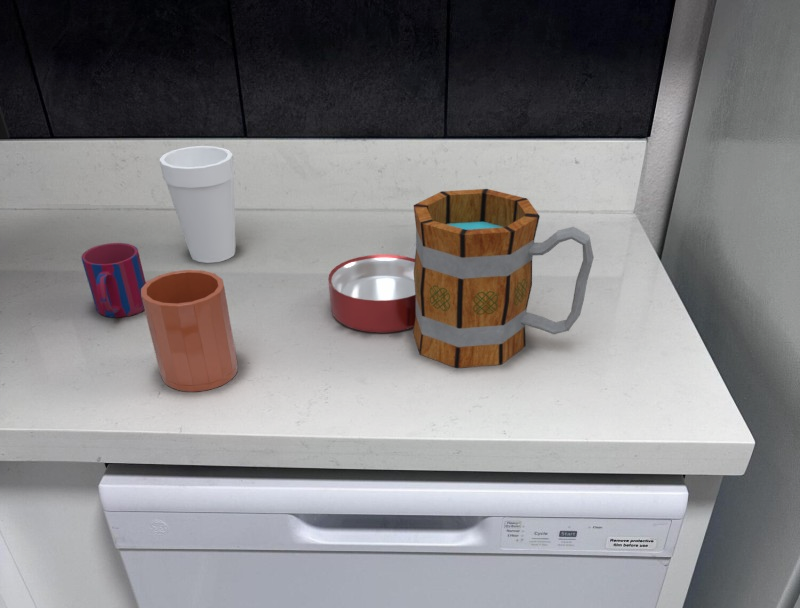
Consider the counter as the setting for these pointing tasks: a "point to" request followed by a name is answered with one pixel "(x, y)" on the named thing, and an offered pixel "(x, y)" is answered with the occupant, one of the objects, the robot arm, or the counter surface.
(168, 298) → the tumbler
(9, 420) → the counter surface
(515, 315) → the mug
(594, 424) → the counter surface
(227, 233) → the foam cup
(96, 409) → the counter surface
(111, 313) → the cup
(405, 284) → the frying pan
